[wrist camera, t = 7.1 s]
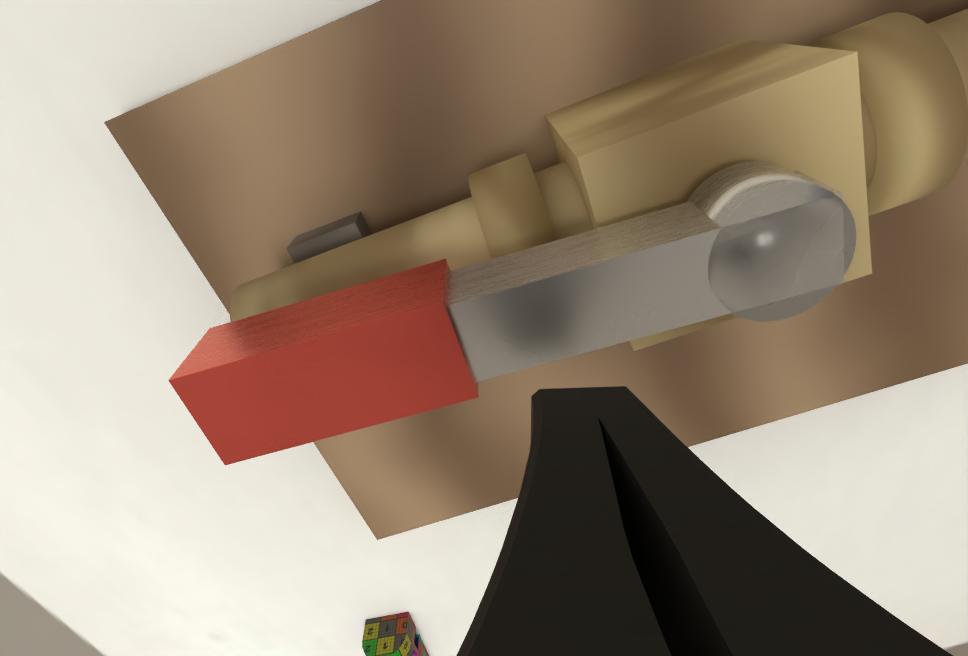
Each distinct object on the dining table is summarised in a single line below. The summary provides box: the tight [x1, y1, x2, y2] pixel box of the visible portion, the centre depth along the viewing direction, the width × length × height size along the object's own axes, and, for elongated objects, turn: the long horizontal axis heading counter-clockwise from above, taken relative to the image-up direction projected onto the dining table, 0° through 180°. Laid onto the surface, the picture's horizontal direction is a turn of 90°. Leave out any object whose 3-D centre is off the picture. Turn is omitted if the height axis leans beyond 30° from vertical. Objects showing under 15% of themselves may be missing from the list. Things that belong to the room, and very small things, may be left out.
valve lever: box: [169, 161, 856, 465], centre depth 11 cm, size 12×2×2 cm, turn 107°
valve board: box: [104, 0, 968, 540], centre depth 15 cm, size 26×16×6 cm, turn 111°
